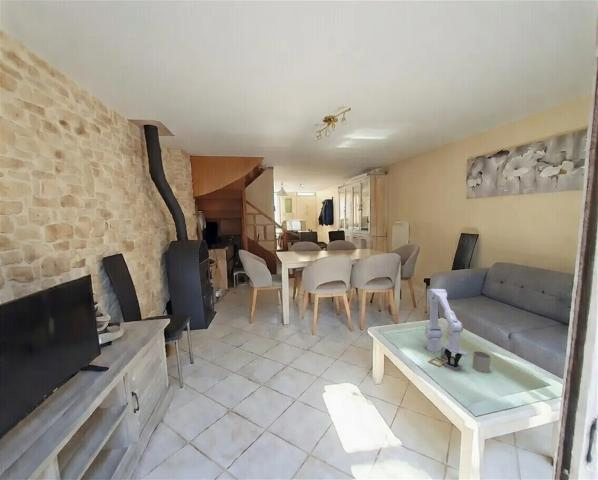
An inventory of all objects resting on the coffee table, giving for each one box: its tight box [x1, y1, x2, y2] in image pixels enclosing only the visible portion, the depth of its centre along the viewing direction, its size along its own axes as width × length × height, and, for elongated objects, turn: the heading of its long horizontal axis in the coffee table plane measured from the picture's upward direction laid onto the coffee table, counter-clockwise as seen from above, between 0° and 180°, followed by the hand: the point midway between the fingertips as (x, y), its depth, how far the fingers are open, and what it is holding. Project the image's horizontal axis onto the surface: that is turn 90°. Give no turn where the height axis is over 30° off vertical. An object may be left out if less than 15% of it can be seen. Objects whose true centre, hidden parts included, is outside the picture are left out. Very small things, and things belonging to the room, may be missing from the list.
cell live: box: [449, 355, 456, 368], centre depth 158 cm, size 3×3×6 cm
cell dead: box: [440, 348, 448, 361], centre depth 169 cm, size 3×3×6 cm
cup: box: [472, 350, 491, 374], centre depth 157 cm, size 8×8×10 cm
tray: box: [427, 356, 448, 368], centre depth 163 cm, size 10×7×2 cm
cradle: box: [443, 361, 464, 372], centre depth 159 cm, size 10×7×3 cm
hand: (452, 363), depth 158 cm, fingers closed on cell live, 3 cm apart
